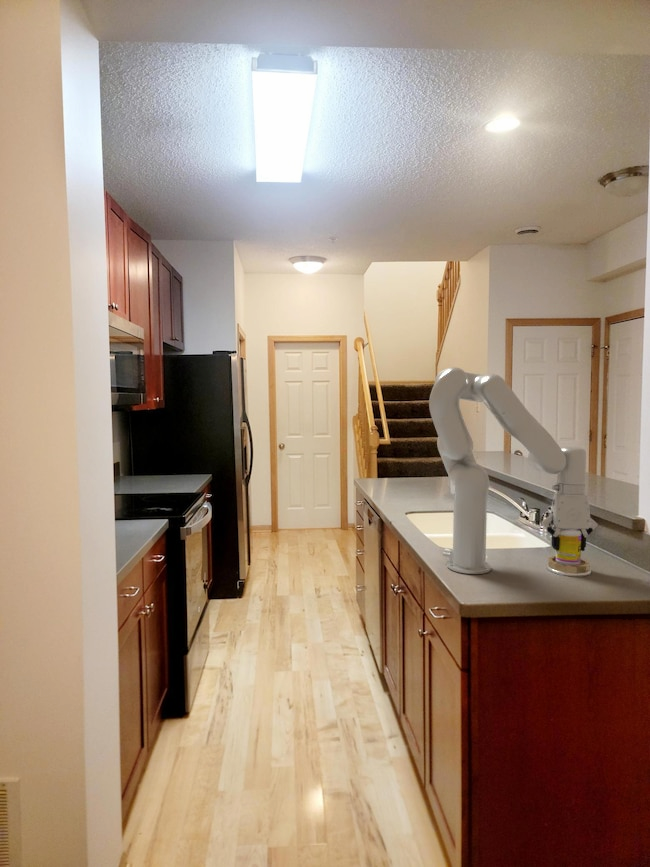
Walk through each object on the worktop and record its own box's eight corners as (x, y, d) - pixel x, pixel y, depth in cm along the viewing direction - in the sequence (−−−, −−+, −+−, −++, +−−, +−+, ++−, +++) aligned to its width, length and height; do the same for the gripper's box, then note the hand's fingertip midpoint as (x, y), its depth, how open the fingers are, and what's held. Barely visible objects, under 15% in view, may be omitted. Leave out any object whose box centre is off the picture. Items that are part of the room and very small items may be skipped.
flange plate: (539, 569, 162) (539, 560, 162) (557, 561, 170) (557, 552, 170) (580, 579, 153) (581, 569, 153) (597, 570, 161) (597, 561, 161)
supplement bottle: (581, 567, 157) (582, 523, 156) (556, 564, 160) (557, 521, 159) (579, 561, 163) (580, 518, 163) (555, 558, 166) (556, 516, 165)
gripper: (545, 491, 157) (543, 552, 158) (606, 491, 156) (604, 553, 157) (536, 486, 164) (534, 545, 165) (594, 487, 164) (592, 546, 165)
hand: (568, 549), depth 161 cm, fingers closed on supplement bottle, 6 cm apart
